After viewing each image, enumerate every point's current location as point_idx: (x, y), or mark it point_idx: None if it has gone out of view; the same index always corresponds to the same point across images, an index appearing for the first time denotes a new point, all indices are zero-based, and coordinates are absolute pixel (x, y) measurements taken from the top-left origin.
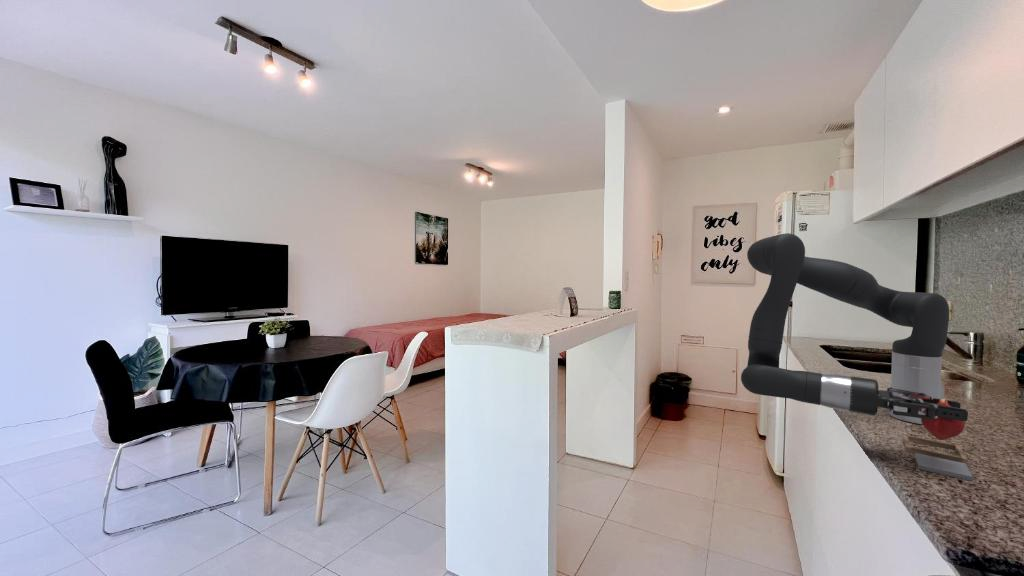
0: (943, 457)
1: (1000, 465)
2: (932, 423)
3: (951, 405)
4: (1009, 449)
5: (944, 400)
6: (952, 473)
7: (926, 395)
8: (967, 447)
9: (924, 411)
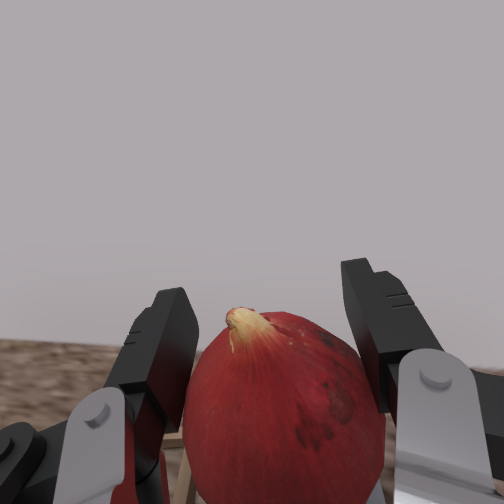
0: (191, 497)
1: None
2: (379, 474)
3: (180, 325)
4: (47, 348)
5: (257, 313)
6: (381, 487)
7: (83, 417)
8: (47, 419)
9: (292, 495)
